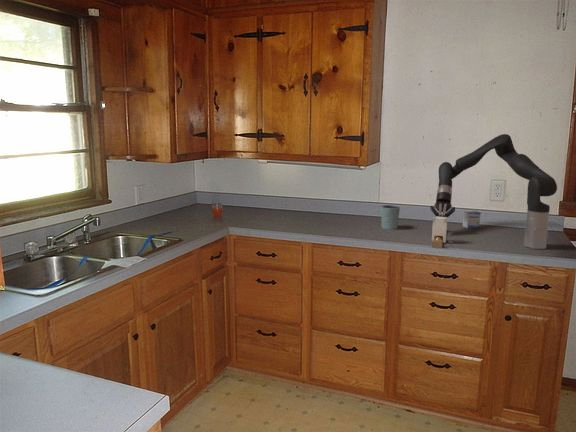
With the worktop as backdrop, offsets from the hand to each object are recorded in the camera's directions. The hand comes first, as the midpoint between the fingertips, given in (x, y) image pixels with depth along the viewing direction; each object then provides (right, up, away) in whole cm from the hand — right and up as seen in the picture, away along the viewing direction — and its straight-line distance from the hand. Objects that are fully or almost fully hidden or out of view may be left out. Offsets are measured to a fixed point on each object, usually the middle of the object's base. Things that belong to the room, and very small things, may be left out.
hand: (441, 222), depth 257 cm
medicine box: (+23, -3, +21) cm, 32 cm away
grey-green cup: (-23, -3, +18) cm, 29 cm away
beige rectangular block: (-5, -9, -11) cm, 15 cm away
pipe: (0, -8, -6) cm, 10 cm away
